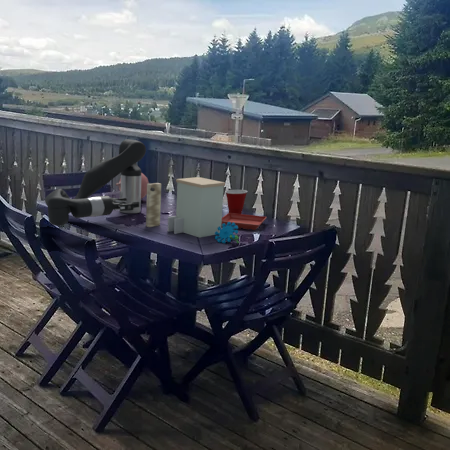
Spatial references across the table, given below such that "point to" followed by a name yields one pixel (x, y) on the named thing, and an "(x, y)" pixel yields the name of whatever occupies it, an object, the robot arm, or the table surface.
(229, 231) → the gear
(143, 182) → the balloon
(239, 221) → the plant saucer
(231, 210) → the plastic cup
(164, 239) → the table surface
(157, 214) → the tall wooden plank
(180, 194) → the cabinet
